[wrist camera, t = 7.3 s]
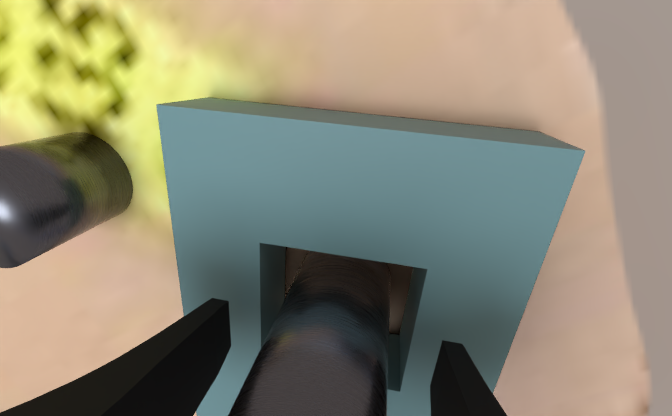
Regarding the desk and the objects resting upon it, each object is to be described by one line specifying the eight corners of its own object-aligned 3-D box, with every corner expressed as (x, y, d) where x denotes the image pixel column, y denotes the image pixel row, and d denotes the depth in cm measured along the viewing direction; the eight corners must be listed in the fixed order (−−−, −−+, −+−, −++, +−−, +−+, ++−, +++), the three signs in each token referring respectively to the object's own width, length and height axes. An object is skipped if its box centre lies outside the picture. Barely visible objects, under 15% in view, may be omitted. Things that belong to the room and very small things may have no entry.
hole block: (450, 410, 17) (460, 476, 14) (227, 363, 18) (196, 415, 15) (539, 131, 11) (585, 150, 8) (208, 97, 13) (156, 104, 10)
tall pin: (377, 323, 15) (357, 610, 7) (296, 300, 16) (186, 551, 7) (401, 251, 14) (408, 516, 6) (309, 227, 14) (188, 445, 6)
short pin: (139, 221, 16) (48, 275, 11) (65, 211, 16) (-48, 259, 12) (123, 136, 14) (10, 163, 10) (41, 128, 14) (-99, 150, 10)
